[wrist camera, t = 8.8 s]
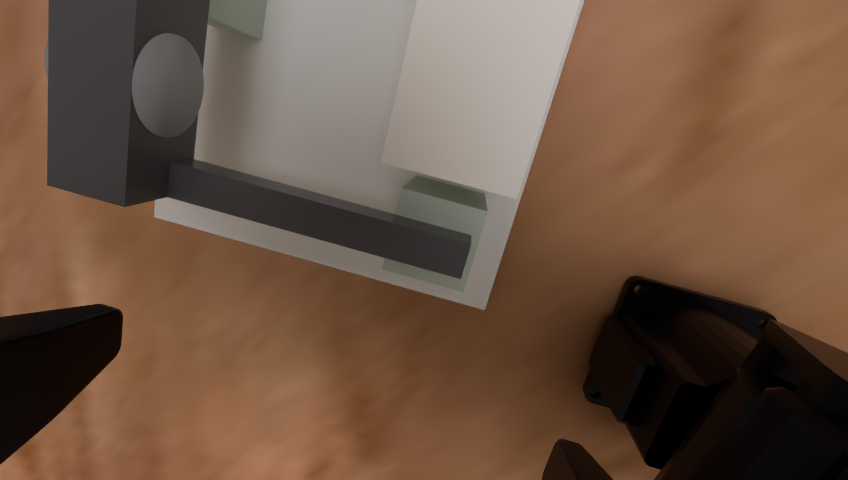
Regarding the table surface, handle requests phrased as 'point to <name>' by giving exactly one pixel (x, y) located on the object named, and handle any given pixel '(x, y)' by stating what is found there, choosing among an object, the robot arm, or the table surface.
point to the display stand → (382, 118)
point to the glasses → (185, 133)
